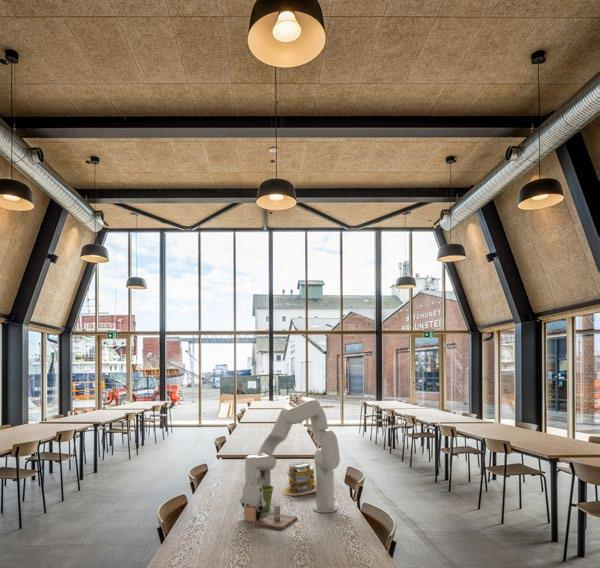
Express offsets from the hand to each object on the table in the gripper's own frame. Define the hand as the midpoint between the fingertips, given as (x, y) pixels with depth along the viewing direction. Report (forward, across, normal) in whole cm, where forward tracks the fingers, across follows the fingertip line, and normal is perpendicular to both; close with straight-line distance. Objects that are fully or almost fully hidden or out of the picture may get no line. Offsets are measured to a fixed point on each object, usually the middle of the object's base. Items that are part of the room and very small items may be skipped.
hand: (252, 517), depth 250 cm
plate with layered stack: (+1, -1, -54) cm, 54 cm away
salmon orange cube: (+1, 0, 0) cm, 1 cm away
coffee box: (+1, +15, -33) cm, 36 cm away
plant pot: (+1, +3, -15) cm, 15 cm away
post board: (+1, -14, 0) cm, 14 cm away
